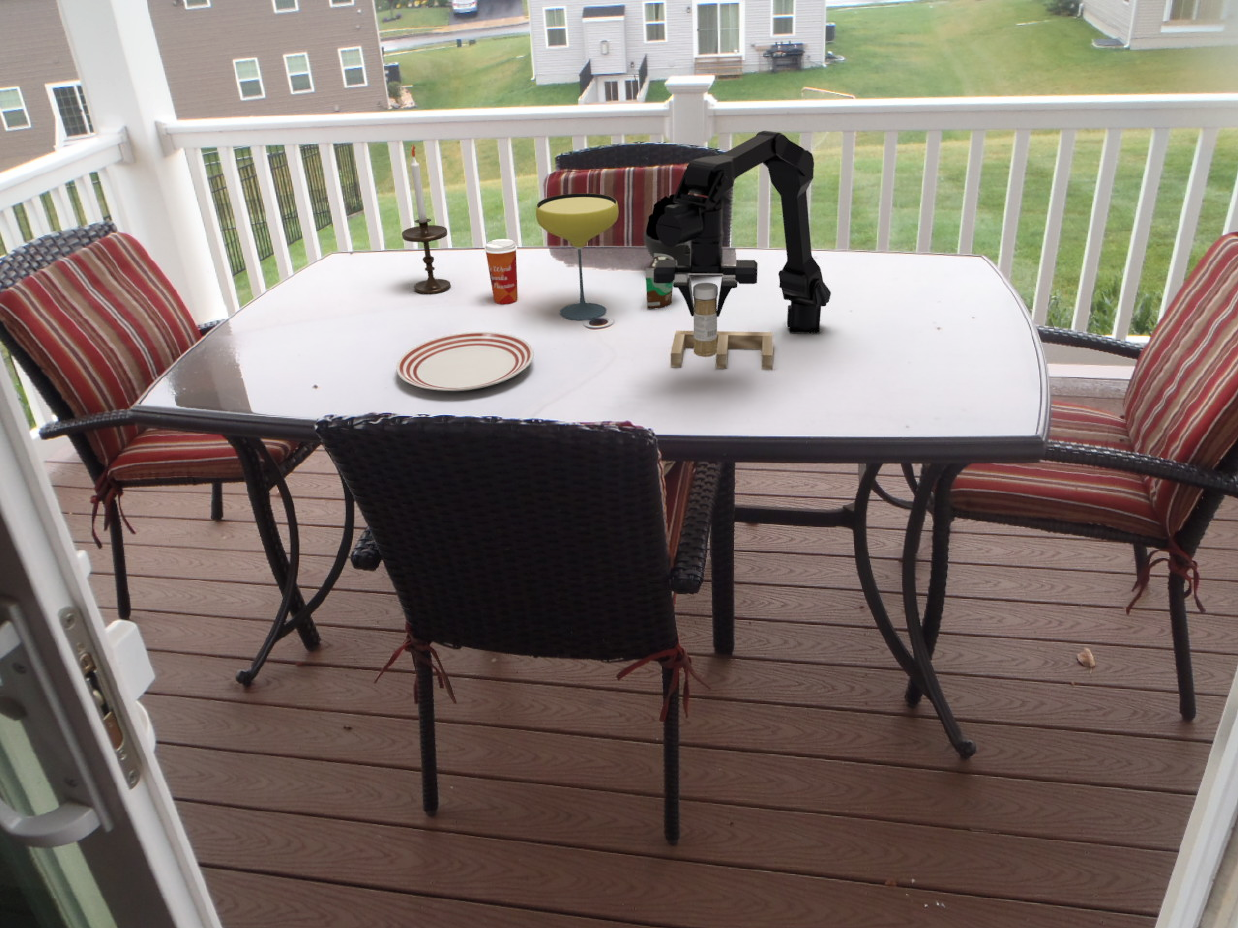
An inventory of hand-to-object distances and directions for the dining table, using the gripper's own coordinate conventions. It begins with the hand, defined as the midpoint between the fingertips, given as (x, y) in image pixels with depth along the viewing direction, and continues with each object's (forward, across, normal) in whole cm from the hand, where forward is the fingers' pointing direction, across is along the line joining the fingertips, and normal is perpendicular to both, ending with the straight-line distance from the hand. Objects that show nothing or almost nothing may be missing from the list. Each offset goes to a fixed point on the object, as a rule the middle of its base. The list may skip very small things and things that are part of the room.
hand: (705, 315), depth 173 cm
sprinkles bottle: (+8, 0, 0) cm, 8 cm away
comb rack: (+13, -3, -11) cm, 17 cm away
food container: (+13, +12, -42) cm, 46 cm away
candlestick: (+13, +71, -50) cm, 88 cm away
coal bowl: (+13, +9, -65) cm, 67 cm away
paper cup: (+13, +50, -42) cm, 67 cm away
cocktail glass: (+13, +30, -35) cm, 48 cm away
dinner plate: (+13, +48, -1) cm, 50 cm away
